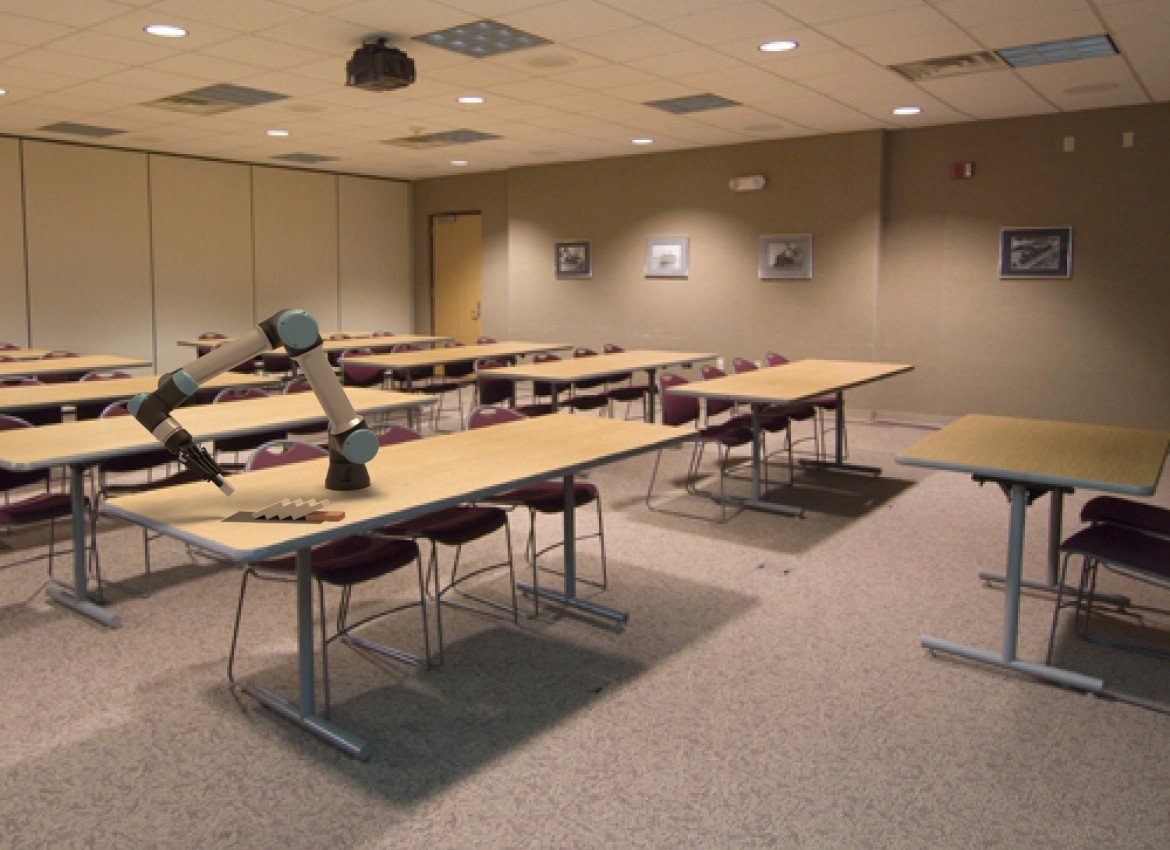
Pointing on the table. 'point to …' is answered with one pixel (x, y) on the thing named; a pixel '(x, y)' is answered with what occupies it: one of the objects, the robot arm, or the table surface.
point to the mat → (248, 517)
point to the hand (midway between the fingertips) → (231, 492)
